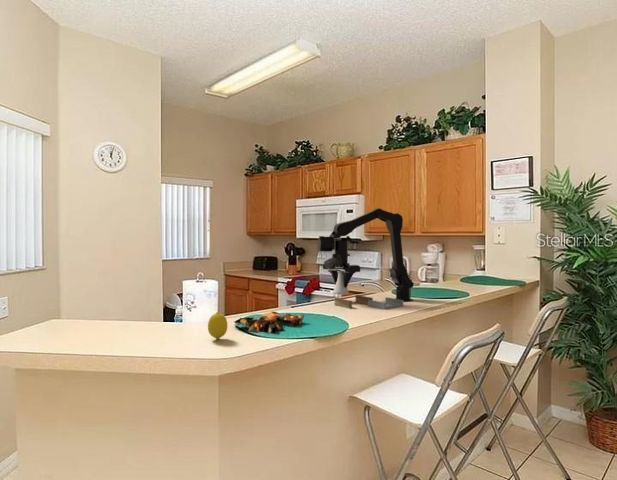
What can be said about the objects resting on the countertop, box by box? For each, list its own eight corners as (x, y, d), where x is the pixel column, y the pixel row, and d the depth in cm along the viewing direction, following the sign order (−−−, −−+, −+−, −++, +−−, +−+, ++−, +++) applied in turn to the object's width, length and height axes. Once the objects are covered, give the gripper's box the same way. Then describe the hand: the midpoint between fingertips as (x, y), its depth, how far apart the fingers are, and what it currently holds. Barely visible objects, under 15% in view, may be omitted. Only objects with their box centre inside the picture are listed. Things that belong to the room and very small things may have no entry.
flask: (349, 292, 181) (349, 270, 180) (349, 295, 173) (349, 272, 173) (333, 292, 181) (333, 270, 181) (332, 294, 174) (332, 271, 174)
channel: (357, 301, 179) (357, 295, 179) (372, 304, 172) (372, 297, 172) (334, 305, 170) (334, 298, 170) (349, 308, 163) (349, 301, 163)
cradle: (386, 302, 177) (386, 297, 177) (403, 306, 170) (403, 300, 170) (368, 305, 169) (368, 299, 169) (384, 309, 162) (384, 303, 162)
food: (271, 337, 121) (271, 325, 121) (226, 329, 131) (226, 318, 131) (311, 323, 139) (310, 313, 139) (268, 317, 149) (268, 308, 149)
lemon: (219, 336, 120) (219, 309, 120) (231, 339, 116) (231, 312, 116) (203, 339, 116) (203, 312, 115) (215, 343, 112) (215, 315, 112)
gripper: (313, 251, 179) (313, 285, 180) (342, 253, 165) (342, 291, 165) (332, 250, 186) (332, 283, 187) (361, 252, 171) (361, 288, 172)
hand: (340, 286), depth 177 cm, fingers closed on flask, 5 cm apart
